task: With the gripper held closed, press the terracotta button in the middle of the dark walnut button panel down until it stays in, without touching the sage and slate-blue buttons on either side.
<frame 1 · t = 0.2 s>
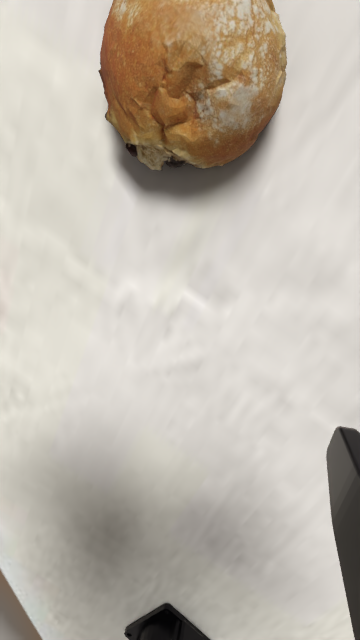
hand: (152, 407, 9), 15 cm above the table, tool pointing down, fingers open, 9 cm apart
bread roll: (194, 88, 20), on the table
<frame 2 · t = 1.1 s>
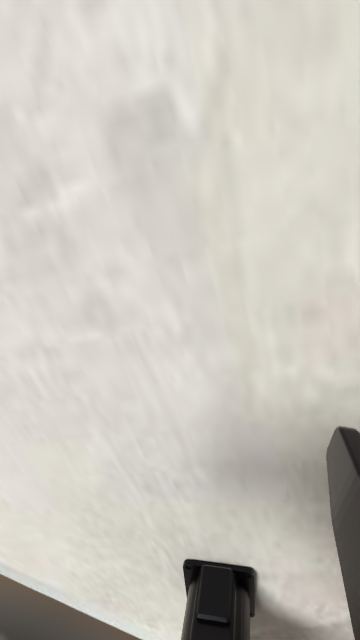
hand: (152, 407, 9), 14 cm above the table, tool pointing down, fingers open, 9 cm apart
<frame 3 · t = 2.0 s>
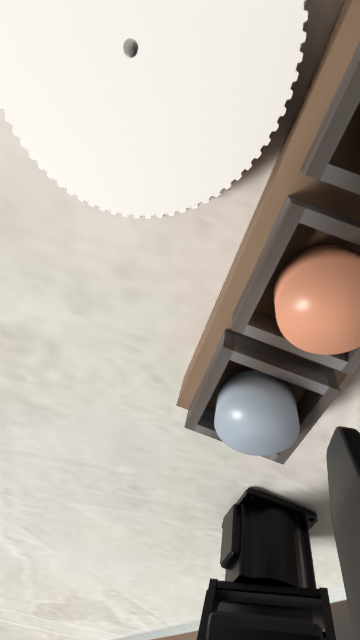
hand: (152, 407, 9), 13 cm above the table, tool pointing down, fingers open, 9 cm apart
button panel: (310, 262, 19), on the table
terracotta button: (326, 300, 15), point 5 cm above the table, slide at 0.0 cm
slate-blue button: (255, 413, 19), point 5 cm above the table, slide at 0.0 cm
plastic lid: (147, 59, 17), on the table
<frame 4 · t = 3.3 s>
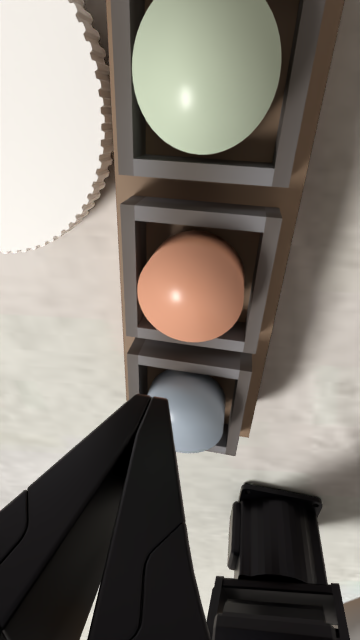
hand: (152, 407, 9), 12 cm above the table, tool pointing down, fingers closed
button panel: (205, 249, 19), on the table
terracotta button: (192, 287, 15), point 5 cm above the table, slide at 0.0 cm
slate-blue button: (184, 410, 19), point 5 cm above the table, slide at 0.0 cm
sage button: (207, 75, 11), point 5 cm above the table, slide at 0.0 cm
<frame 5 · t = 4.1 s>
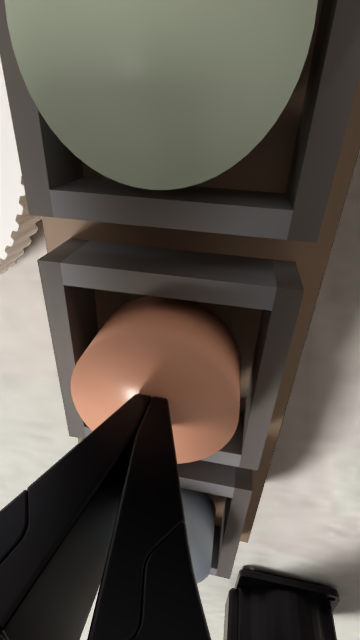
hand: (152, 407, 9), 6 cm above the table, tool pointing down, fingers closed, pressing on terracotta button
button panel: (188, 301, 14), on the table
terracotta button: (160, 381, 10), point 5 cm above the table, slide at 0.1 cm, touching gripper
slate-blue button: (157, 528, 13), point 5 cm above the table, slide at 0.0 cm
sage button: (166, 38, 6), point 5 cm above the table, slide at 0.0 cm
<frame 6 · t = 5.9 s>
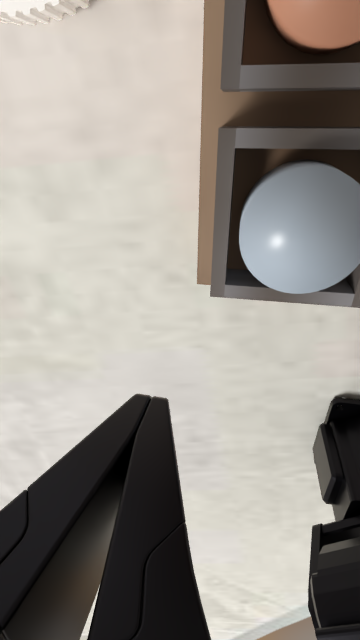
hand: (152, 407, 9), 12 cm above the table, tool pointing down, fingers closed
slate-blue button: (300, 228, 13), point 5 cm above the table, slide at 0.0 cm
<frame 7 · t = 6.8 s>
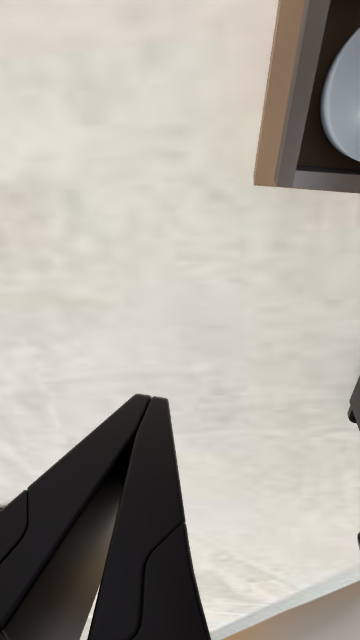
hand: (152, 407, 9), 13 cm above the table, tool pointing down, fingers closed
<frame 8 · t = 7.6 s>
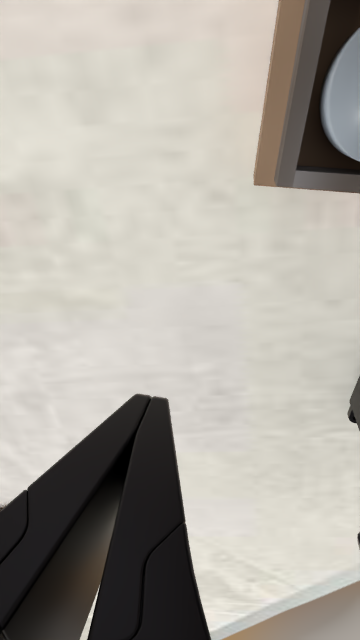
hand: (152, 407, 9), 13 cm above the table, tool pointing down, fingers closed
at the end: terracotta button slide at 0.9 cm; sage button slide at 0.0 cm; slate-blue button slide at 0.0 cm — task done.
